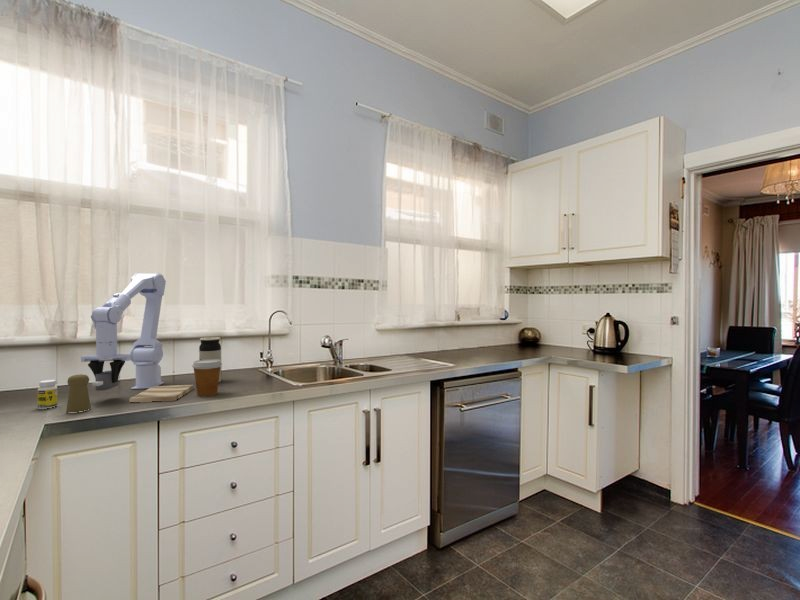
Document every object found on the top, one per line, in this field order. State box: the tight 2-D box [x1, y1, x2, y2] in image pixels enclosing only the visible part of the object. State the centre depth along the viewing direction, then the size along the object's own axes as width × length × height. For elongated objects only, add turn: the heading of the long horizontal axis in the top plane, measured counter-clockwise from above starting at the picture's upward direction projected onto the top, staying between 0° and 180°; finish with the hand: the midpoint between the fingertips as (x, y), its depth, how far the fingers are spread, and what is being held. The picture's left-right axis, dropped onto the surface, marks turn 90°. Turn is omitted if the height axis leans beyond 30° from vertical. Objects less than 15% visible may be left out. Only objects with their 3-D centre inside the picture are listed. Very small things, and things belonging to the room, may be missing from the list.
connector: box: [91, 369, 119, 392], centre depth 134 cm, size 11×4×5 cm, turn 10°
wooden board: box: [129, 384, 195, 403], centre depth 142 cm, size 18×14×2 cm
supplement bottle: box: [37, 379, 59, 410], centre depth 127 cm, size 5×5×8 cm
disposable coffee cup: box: [191, 359, 223, 397], centre depth 142 cm, size 10×10×12 cm
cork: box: [65, 373, 92, 413], centre depth 123 cm, size 6×6×11 cm
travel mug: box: [198, 336, 222, 383], centre depth 163 cm, size 8×8×18 cm
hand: (107, 382), depth 135 cm, fingers closed on connector, 4 cm apart
